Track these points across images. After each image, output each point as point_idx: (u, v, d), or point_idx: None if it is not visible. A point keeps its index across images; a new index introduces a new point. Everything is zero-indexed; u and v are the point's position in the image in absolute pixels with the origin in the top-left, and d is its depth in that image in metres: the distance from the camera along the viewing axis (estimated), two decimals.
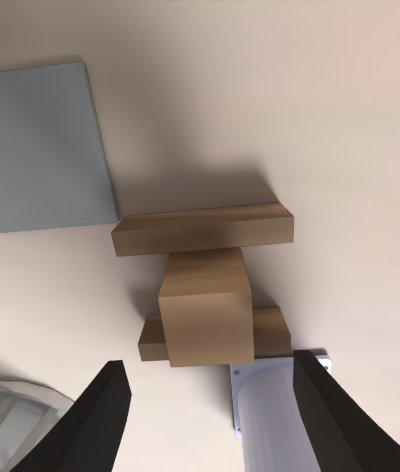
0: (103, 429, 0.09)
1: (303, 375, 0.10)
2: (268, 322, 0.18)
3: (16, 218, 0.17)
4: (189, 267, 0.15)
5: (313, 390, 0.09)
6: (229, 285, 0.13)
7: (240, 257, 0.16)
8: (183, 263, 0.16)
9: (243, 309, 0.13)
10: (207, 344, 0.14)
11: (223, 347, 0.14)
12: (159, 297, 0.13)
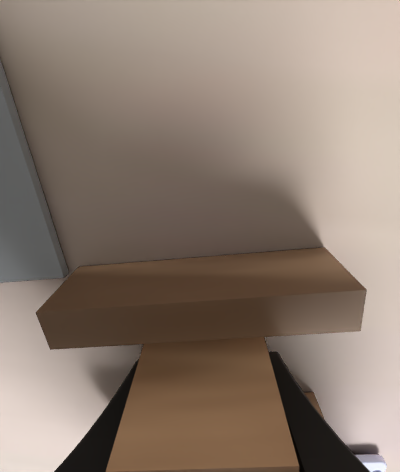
0: None
1: None
2: None
3: None
4: (174, 371, 0.09)
5: None
6: (250, 440, 0.07)
7: (263, 347, 0.09)
8: (166, 356, 0.09)
9: None
10: None
11: None
12: (109, 470, 0.06)
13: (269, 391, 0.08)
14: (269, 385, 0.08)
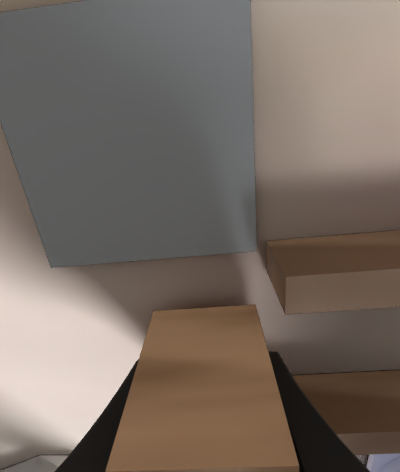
0: None
1: None
2: None
3: (99, 244, 0.11)
4: (174, 370, 0.09)
5: None
6: (250, 440, 0.07)
7: (263, 346, 0.09)
8: (166, 356, 0.09)
9: None
10: None
11: None
12: (109, 470, 0.06)
13: (269, 391, 0.08)
14: (269, 385, 0.08)
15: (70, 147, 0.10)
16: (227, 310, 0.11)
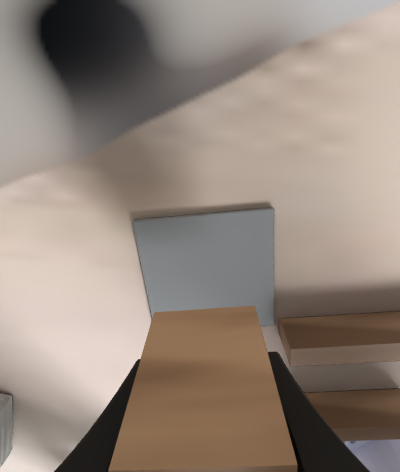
0: None
1: None
2: (398, 408, 0.21)
3: None
4: (175, 371, 0.09)
5: None
6: (250, 440, 0.07)
7: (262, 347, 0.10)
8: (167, 357, 0.10)
9: None
10: None
11: None
12: (112, 469, 0.07)
13: (268, 391, 0.08)
14: (268, 385, 0.08)
15: (176, 275, 0.19)
16: (227, 311, 0.12)
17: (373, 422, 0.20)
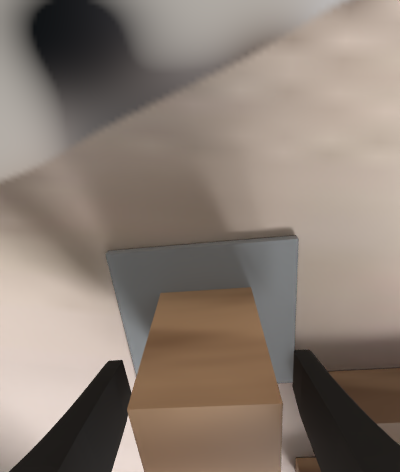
0: (103, 429, 0.09)
1: (303, 375, 0.10)
2: None
3: None
4: (181, 339, 0.10)
5: (313, 390, 0.09)
6: (244, 387, 0.08)
7: (256, 320, 0.11)
8: (173, 327, 0.11)
9: (267, 427, 0.08)
10: (208, 470, 0.09)
11: None
12: (130, 409, 0.08)
13: (260, 352, 0.09)
14: (261, 348, 0.09)
15: None
16: (226, 292, 0.13)
17: None
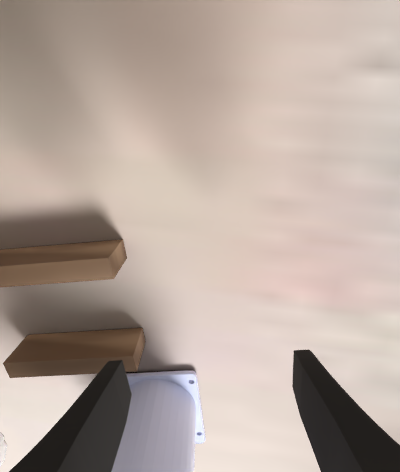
0: (103, 429, 0.09)
1: (303, 375, 0.10)
2: (123, 343, 0.21)
3: None
4: None
5: (313, 390, 0.09)
6: None
7: None
8: None
9: None
10: None
11: None
12: None
13: None
14: None
15: None
16: None
17: (87, 355, 0.20)
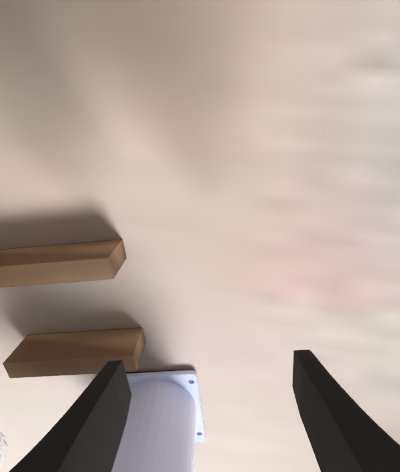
0: (103, 429, 0.09)
1: (303, 375, 0.10)
2: (123, 343, 0.21)
3: None
4: None
5: (313, 390, 0.09)
6: None
7: None
8: None
9: None
10: None
11: None
12: None
13: None
14: None
15: None
16: None
17: (87, 355, 0.20)
